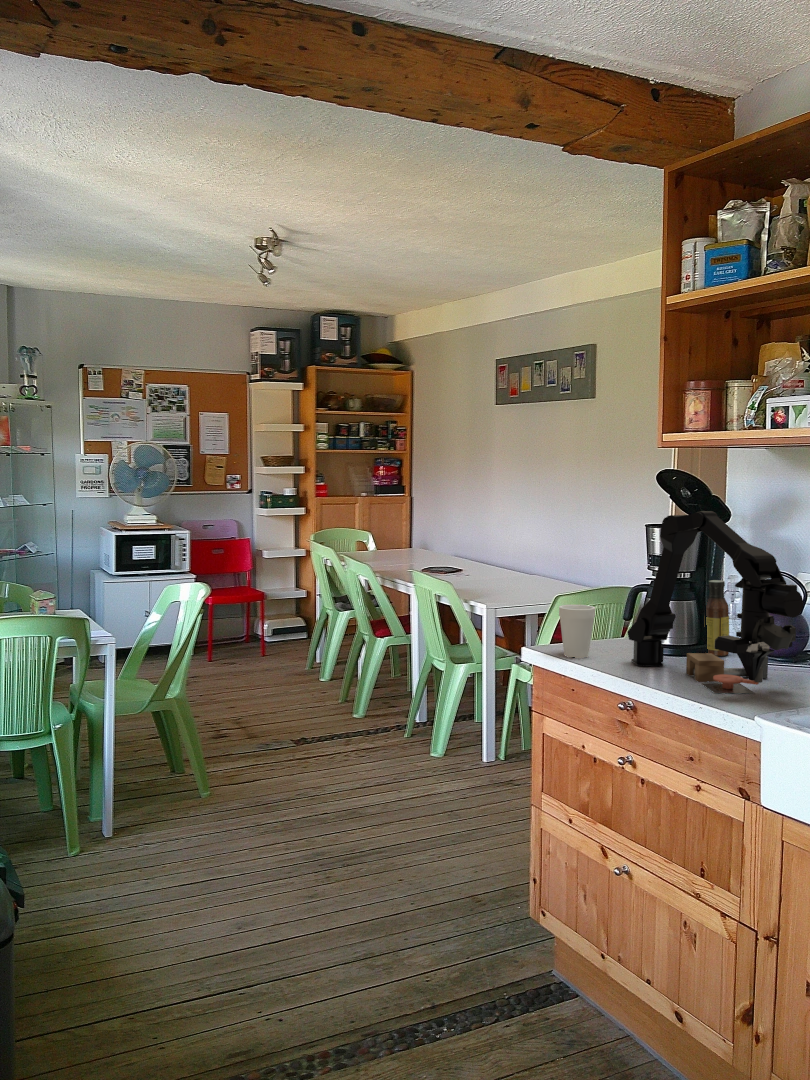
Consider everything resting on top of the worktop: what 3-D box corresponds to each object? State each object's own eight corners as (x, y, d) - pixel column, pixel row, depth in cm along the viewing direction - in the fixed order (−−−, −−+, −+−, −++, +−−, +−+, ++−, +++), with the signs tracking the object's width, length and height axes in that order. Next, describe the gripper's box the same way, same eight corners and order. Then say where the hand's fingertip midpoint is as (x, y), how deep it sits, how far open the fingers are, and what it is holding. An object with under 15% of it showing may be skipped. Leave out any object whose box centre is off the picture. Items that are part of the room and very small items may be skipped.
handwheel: (709, 688, 210) (710, 665, 209) (717, 682, 215) (718, 660, 215) (758, 695, 204) (759, 671, 204) (765, 689, 209) (766, 666, 209)
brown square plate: (715, 693, 206) (715, 692, 206) (701, 684, 215) (701, 683, 215) (755, 693, 206) (755, 692, 206) (739, 684, 215) (739, 683, 215)
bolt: (696, 678, 220) (696, 657, 220) (692, 675, 223) (692, 654, 223) (767, 678, 221) (768, 657, 220) (762, 675, 224) (763, 654, 223)
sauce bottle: (725, 652, 252) (728, 579, 250) (731, 657, 246) (734, 582, 244) (700, 651, 252) (703, 579, 251) (706, 656, 246) (708, 582, 245)
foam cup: (572, 660, 240) (573, 610, 239) (551, 654, 248) (551, 605, 247) (601, 657, 244) (602, 608, 243) (579, 651, 252) (580, 603, 251)
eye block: (698, 681, 217) (698, 660, 217) (686, 673, 226) (686, 653, 226) (723, 681, 218) (724, 660, 217) (710, 673, 226) (711, 653, 226)
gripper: (756, 619, 193) (752, 693, 194) (815, 613, 202) (811, 683, 203) (714, 610, 202) (711, 681, 204) (772, 605, 211) (769, 673, 213)
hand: (751, 680), depth 206 cm, fingers closed
